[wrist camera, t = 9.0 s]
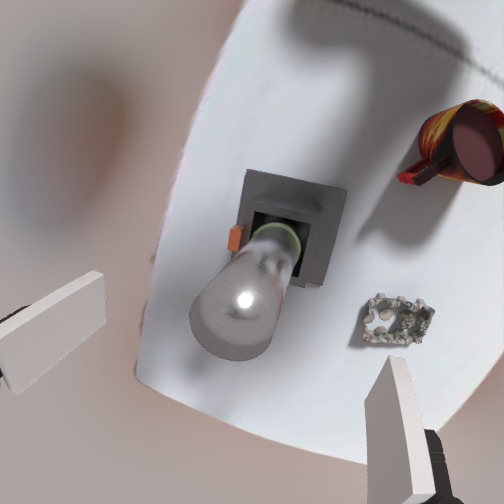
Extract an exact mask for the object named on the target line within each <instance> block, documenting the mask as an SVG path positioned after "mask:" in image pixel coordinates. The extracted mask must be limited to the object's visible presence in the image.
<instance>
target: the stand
mask: <svg viewBox="0 0 504 504" xmlns="http://www.w3.org/2000/svg"><path fill="white" fill-rule="evenodd" d="M346 193H347V191H345V190H341V189H338V188H334V187H329V186H325V185H321V184H317V183H313V182H308V181H304V180H300V179H295V178H291V177H286V176H281V175H276V174H272V173H267V172H262V171H257V170H251V169H247V172H246V178H245V183H244V189H243V194H242V200H241V206H240V211H239V217H238V223H237V225H235V226H233V227H232V228H231V230H230V236H229V242H228V248H227V249H228V250H232V251H233V252H232V258H231V260H232V259H233V258H234V257H235V256H236V255H237V254H238V253H239V252H240V251H241V250H242V249H243V247H244V246H245V245H246V244H247V243H248V242H249V241H250V239H251V237H252V235H253V234H254V233H255V231H256V230H257V229H258V228H259V227H261V226H262V225H263V224H265V223H268V222H270V221H273V220H284V221H287V222H289V223H291V224H292V225H293V226H294V227H295V228H296V229H297V231H298V232H299V235H300V241H301V252H300V256H299V259H298V261H297V263H296V264H295V265H294V268H293V271H292V275H291V278H290V281H289V284H291V285H295V286H299V287H303V288H305V284H306V282H310V283H314V284H318V285H323V282H324V278H325V275H326V271H327V268H328V264H329V261H330V257H331V253H332V249H333V246H334V242H335V238H336V234H337V230H338V226H339V222H340V218H341V214H342V210H343V206H344V202H345V197H346Z"/></svg>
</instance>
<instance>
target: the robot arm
mask: <svg viewBox="0 0 504 504" xmlns="http://www.w3.org/2000/svg"><path fill="white" fill-rule="evenodd" d="M104 281H105V280H104V274H102V273H99V272H96V271H94V270H92V271H90V272H89V273H87V274H85V275H83V276H81V277H79V278H78V279H76V280H74V281H72V282H70V283H69V284H67V285H65V286H63V287H62V288H60V289H58V290H56V291H54V292H53V293H51V294H49V295H48V296H46V297H44V298H42V299H41V300H39V301H37V302H35V303H34V304H31V305H28V306H24V307H21V308H20V309H18V310H16V311H15V312H13V314H10V315H8V316H7V317H6V318H3V319H2V320H0V378H1V377H2V376H3V378H4V380H5V382H6V385H7V387H8V388H9V389H11V390H12V391H13V392H14V393H15V394H16V395H17V396H18V395H20V394H21V393H22V392H23V391H24V390H25V389H27V388H28V387H29V386H30V385H31V384H33V383H34V382H35V381H36V380H37V379H39V378H40V377H41V376H42V375H43V374H44V373H45V372H47V371H48V370H49V369H50V368H52V367H53V366H54V365H55V364H56V363H58V362H59V361H60V360H61V359H62V358H64V357H65V356H66V355H67V354H68V353H70V352H71V351H72V350H73V349H75V347H77V346H78V345H80V344H81V343H82V342H83V341H84V340H86V339H87V338H88V337H89V336H91V335H92V334H93V333H94V332H96V331H97V330H98V329H99V328H101V327H102V326H103V325H104V324H106V323H107V319H106V303H105V282H104ZM364 402H365V417H366V435H367V466H368V501H367V504H464V503H463V502H462V501H460V499H458V498H455V497H453V495H452V490H451V485H450V480H449V475H448V470H447V465H446V463H445V456H444V454H443V448H442V444H441V440H440V438H439V437H438V436H437V434H436V433H435V431H434V430H426V429H424V428H423V424H422V420H421V415H420V411H419V407H418V403H417V400H416V396H415V392H414V388H413V385H412V381H411V378H410V374H409V371H408V368H407V364H406V361H405V358H400V357H395V356H390V355H389V356H388V358H387V360H386V362H385V364H384V366H383V368H382V370H381V372H380V374H379V376H378V378H377V380H376V381H375V383H374V385H373V387H372V389H371V391H370V392H369V394H368V396H367V398H366V399H365V401H364Z"/></svg>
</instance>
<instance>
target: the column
mask: <svg viewBox="0 0 504 504" xmlns="http://www.w3.org/2000/svg"><path fill="white" fill-rule="evenodd" d="M300 252H301V241H300V235H299V232H298V231H297V229H296V228H295V227H294V226H293V225H292V224H291V223H289V222H287V221H284V220H273V221H270V222H268V223H265V224H263V225H262V226H261V227H259V228H258V229H257V230H256V231H255V233H254V234H253V235H252V237H251V239H250V241H249V242H248V243H247V244H246V245H245V246H244V247H243V249H242V250H241V251H240V252H239V253H238V254H237V255H236V256H235V257H234V258H233V259H232V260H231V261H230V262H229V263H228V264H227V266H226V267H225V268H224V269H223V270H222V271H221V272H220V273H219V274H218V275H217V276H216V277H215V278H214V279H213V280H212V281H211V283H210V284H209V285H208V286H207V287H206V288H205V289H204V290H203V291H202V292H201V293H200V294H199V295H198V296H197V298H196V299H195V300H194V302H193V304H192V306H191V309H190V314H189V320H190V326H191V329H192V332H193V334H194V336H195V338H196V339H197V340H198V342H199V343H200V344H201V345H202V346H203V347H204V348H205V349H206V350H207V351H209V352H210V353H212V354H213V355H215V356H217V357H220V358H222V359H226V360H230V361H246V360H250V359H253V358H255V357H257V356H259V355H260V354H262V353H263V352H264V351H265V350H266V348H267V347H268V346H269V344H270V341H271V339H272V336H273V333H274V329H275V326H276V323H277V320H278V317H279V314H280V311H281V307H282V304H283V301H284V298H285V294H286V291H287V288H288V285H289V281H290V278H291V275H292V271H293V268H294V265H295V264H296V263H297V261H298V259H299V256H300Z"/></svg>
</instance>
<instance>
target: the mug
mask: <svg viewBox="0 0 504 504" xmlns="http://www.w3.org/2000/svg"><path fill="white" fill-rule="evenodd" d="M419 149H420V153H421V156H422V159H421V160H419V161H418V162H417V163H415V164H414V165H412V166H411V167H409V168H408V169H406V170H405V171H403V172H402V173H400V174H398V175H397V177H398V179H399V181H400V182H404V183H410V184H414V185H418V186H420V185H422V184H424V183H425V182H427V181H428V180H430V179H431V178H433V177H434V176H436V175H438V176H440V177H443V178H447V179H454V180H459V181H465V182H471V183H476V184H481V185H487V186H494V185H497V184H500V183H502V182H503V181H504V113H503V112H502V111H501V110H500V109H499V108H498V107H496V106H495V105H494V104H492V103H490V102H488V101H485V100H478V99H475V100H470V101H467V102H465V103H462V104H460V105H457V106H455V107H452V108H450V109H447V110H445V111H442V112H440V113H437V114H435V115H433V116H431V117H429V118H428V119H427V120H426V121H425V122H424V124H423V125H422V127H421V130H420V133H419ZM426 166H428V167H427V168H426V169H424V168H425V167H426ZM422 169H424V170H423V171H422V172H420V173H419V174H416V173H418V172H419V171H421V170H422Z"/></svg>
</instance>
